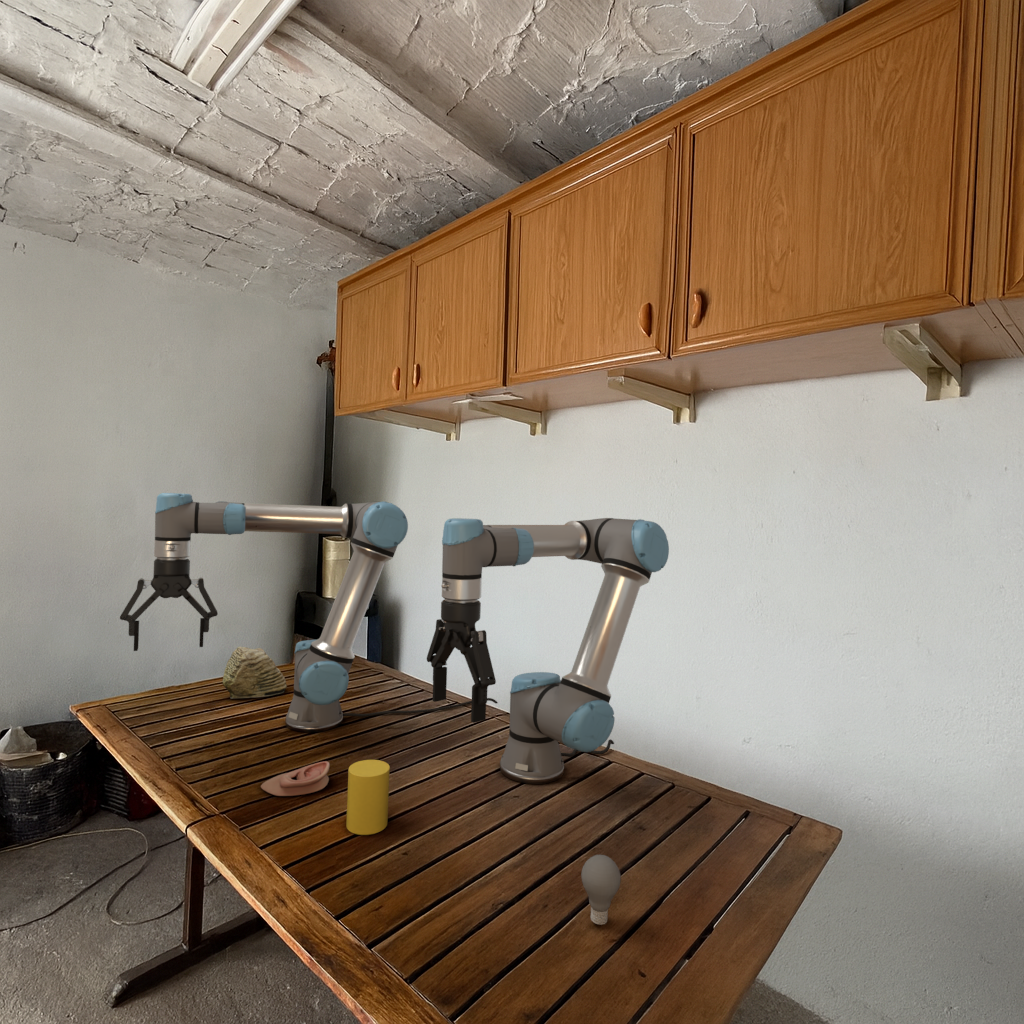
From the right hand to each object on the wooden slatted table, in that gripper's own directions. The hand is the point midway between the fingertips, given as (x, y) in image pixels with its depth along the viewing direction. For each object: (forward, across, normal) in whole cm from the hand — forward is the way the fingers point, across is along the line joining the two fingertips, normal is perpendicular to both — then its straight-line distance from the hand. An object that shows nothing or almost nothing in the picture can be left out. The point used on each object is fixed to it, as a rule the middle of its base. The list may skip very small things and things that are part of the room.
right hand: (457, 710), depth 121 cm
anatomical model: (+24, -35, -18) cm, 46 cm away
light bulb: (+24, +34, +4) cm, 42 cm away
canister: (+24, -12, -12) cm, 29 cm away
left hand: (-3, -67, -38) cm, 77 cm away
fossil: (+24, -103, -8) cm, 106 cm away
